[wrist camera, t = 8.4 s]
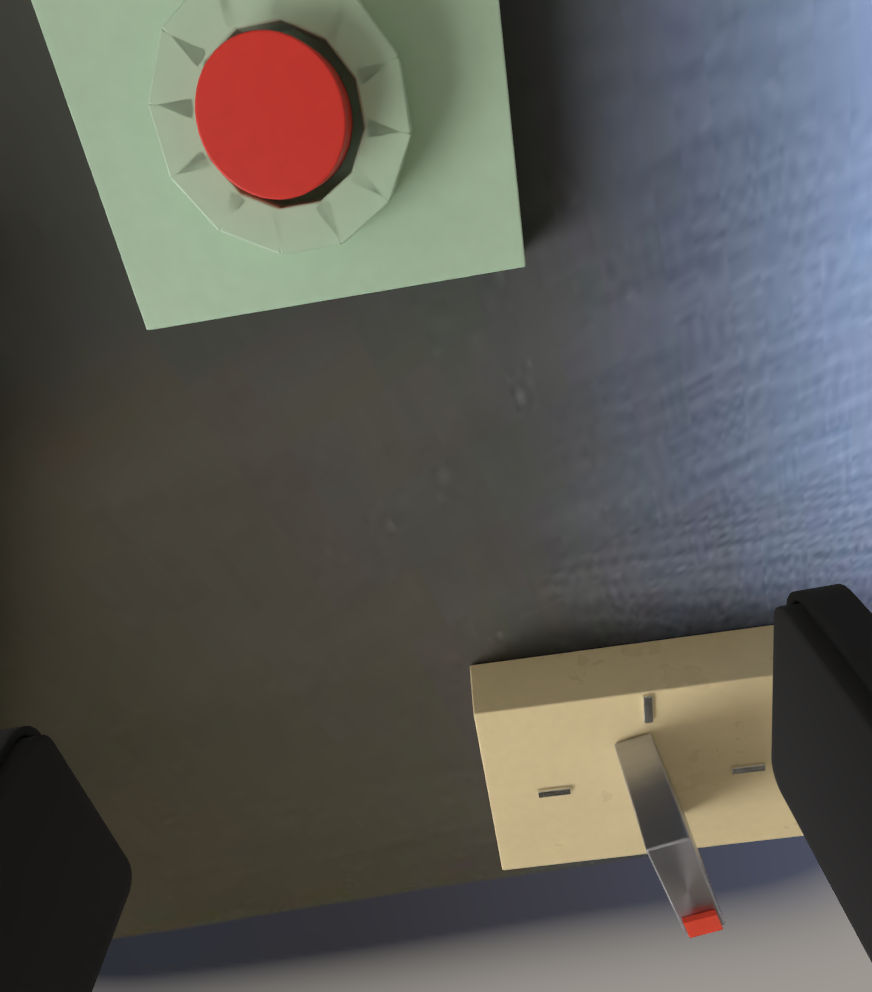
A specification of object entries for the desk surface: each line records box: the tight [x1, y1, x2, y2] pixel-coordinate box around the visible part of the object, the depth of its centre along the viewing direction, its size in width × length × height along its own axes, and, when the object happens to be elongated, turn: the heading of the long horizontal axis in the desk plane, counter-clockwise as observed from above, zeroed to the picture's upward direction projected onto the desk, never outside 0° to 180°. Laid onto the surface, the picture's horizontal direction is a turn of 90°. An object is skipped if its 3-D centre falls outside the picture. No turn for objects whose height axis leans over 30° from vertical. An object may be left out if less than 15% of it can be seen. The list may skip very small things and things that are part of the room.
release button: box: [195, 29, 353, 200], centre depth 18 cm, size 4×4×2 cm
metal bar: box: [615, 733, 725, 938], centre depth 29 cm, size 6×2×5 cm, turn 24°
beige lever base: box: [470, 625, 803, 870], centre depth 32 cm, size 14×10×3 cm
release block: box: [31, 0, 526, 330], centre depth 20 cm, size 12×10×4 cm
